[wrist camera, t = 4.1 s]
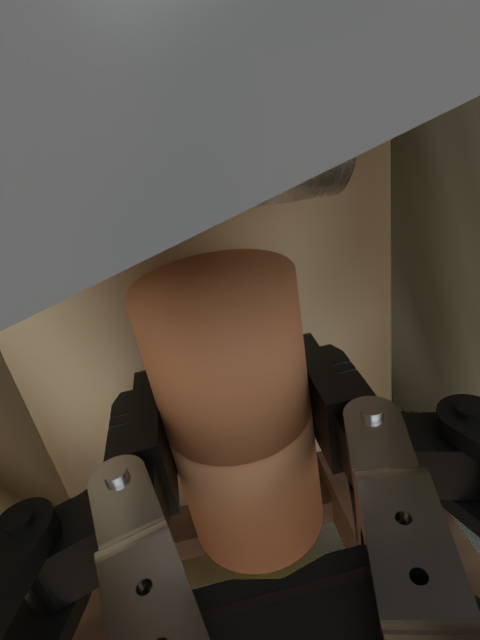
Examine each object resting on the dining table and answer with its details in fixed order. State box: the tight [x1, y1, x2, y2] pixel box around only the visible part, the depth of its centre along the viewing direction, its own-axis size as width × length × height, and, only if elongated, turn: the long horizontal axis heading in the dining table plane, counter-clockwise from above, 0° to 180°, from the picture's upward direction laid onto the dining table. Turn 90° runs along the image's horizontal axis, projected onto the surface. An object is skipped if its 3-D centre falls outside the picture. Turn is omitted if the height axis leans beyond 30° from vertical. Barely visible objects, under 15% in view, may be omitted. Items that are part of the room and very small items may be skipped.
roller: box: [124, 249, 323, 574], centre depth 12 cm, size 8×4×4 cm, turn 10°
